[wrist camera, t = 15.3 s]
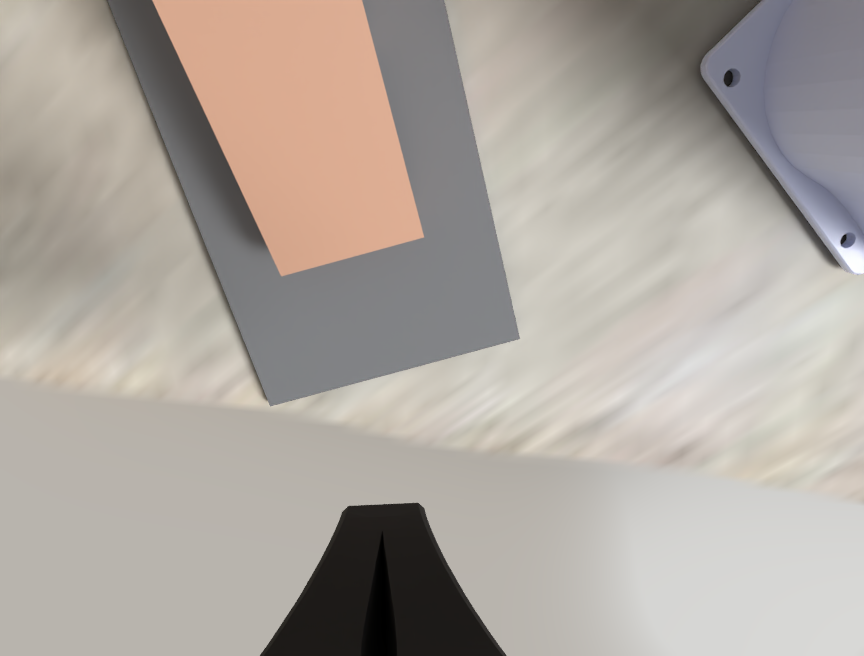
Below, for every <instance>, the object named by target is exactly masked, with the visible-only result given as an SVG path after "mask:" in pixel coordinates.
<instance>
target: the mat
mask: <svg viewBox="0 0 864 656" xmlns="http://www.w3.org/2000/svg"><path fill="white" fill-rule="evenodd" d="M107 1H108V4H109V6H110V9H111V11H112V14H113V16H114V19H115V21H116V24H117V26H118V29H119V31H120V34H121V36H122V39H123V41H124V43H125V46H126V48H127V51H128V53H129V56H130V58H131V61H132V63H133V66H134V68H135V71H136V73H137V76H138V78H139V81H140V83H141V86H142V88H143V91H144V93H145V96H146V98H147V101H148V103H149V106H150V108H151V111H152V113H153V116H154V118H155V121H156V123H157V126H158V128H159V131H160V133H161V136H162V138H163V141H164V143H165V146H166V148H167V151H168V153H169V156H170V158H171V161H172V163H173V166H174V168H175V170H176V173H177V175H178V178H179V180H180V183H181V185H182V188H183V190H184V193H185V195H186V198H187V200H188V203H189V205H190V208H191V210H192V213H193V215H194V218H195V220H196V223H197V225H198V228H199V230H200V233H201V235H202V238H203V240H204V243H205V245H206V248H207V250H208V253H209V255H210V258H211V260H212V263H213V265H214V268H215V270H216V273H217V275H218V278H219V280H220V283H221V285H222V288H223V290H224V293H225V295H226V297H227V300H228V302H229V305H230V307H231V310H232V312H233V315H234V317H235V320H236V322H237V325H238V327H239V330H240V332H241V335H242V337H243V340H244V342H245V345H246V347H247V350H248V352H249V355H250V357H251V360H252V362H253V365H254V367H255V370H256V372H257V375H258V377H259V380H260V382H261V385H262V387H263V390H264V392H265V395H266V397H267V400H268V402H269V405H270V406H273V405H277V404H281V403H284V402H288V401H292V400H295V399H299V398H303V397H307V396H310V395H314V394H318V393H321V392H325V391H329V390H332V389H336V388H340V387H344V386H347V385H351V384H355V383H358V382H362V381H366V380H369V379H373V378H377V377H381V376H384V375H388V374H392V373H395V372H399V371H403V370H407V369H410V368H414V367H418V366H421V365H425V364H429V363H432V362H436V361H440V360H444V359H447V358H451V357H455V356H458V355H462V354H466V353H469V352H473V351H477V350H481V349H484V348H488V347H492V346H495V345H499V344H503V343H506V342H510V341H514V340H518V339H520V337H519V333H518V328H517V324H516V320H515V315H514V311H513V306H512V302H511V297H510V293H509V288H508V284H507V279H506V275H505V270H504V266H503V261H502V257H501V252H500V248H499V243H498V239H497V235H496V230H495V226H494V221H493V217H492V212H491V208H490V203H489V199H488V194H487V190H486V185H485V181H484V176H483V172H482V167H481V163H480V158H479V154H478V150H477V145H476V141H475V136H474V132H473V127H472V123H471V118H470V114H469V109H468V105H467V100H466V96H465V91H464V87H463V82H462V78H461V74H460V69H459V65H458V60H457V56H456V51H455V47H454V42H453V38H452V33H451V29H450V24H449V20H448V15H447V11H446V6H445V2H444V0H362V2H363V6H364V9H365V13H366V17H367V21H368V25H369V29H370V32H371V36H372V40H373V44H374V48H375V51H376V55H377V59H378V63H379V67H380V71H381V74H382V78H383V82H384V86H385V90H386V93H387V97H388V101H389V105H390V109H391V112H392V116H393V120H394V124H395V128H396V132H397V135H398V139H399V143H400V147H401V151H402V154H403V158H404V162H405V166H406V170H407V173H408V177H409V181H410V185H411V189H412V193H413V196H414V200H415V204H416V208H417V212H418V215H419V219H420V223H421V227H422V231H423V234H424V238H420V239H416V240H413V241H409V242H405V243H402V244H398V245H394V246H391V247H387V248H383V249H380V250H376V251H372V252H369V253H365V254H362V255H358V256H354V257H351V258H347V259H343V260H340V261H336V262H332V263H329V264H325V265H321V266H318V267H314V268H310V269H307V270H303V271H299V272H296V273H292V274H288V275H285V276H281V275H280V273H279V271H278V268H277V266H276V264H275V262H274V260H273V258H272V256H271V253H270V251H269V249H268V247H267V245H266V243H265V241H264V238H263V236H262V234H261V232H260V230H259V228H258V226H257V223H256V221H255V219H254V217H253V215H252V213H251V211H250V208H249V206H248V204H247V202H246V200H245V198H244V196H243V193H242V191H241V189H240V187H239V185H238V183H237V181H236V178H235V176H234V174H233V172H232V170H231V168H230V166H229V163H228V161H227V159H226V157H225V155H224V153H223V151H222V149H221V146H220V144H219V142H218V140H217V138H216V136H215V134H214V131H213V129H212V127H211V125H210V123H209V121H208V119H207V116H206V114H205V112H204V110H203V108H202V106H201V104H200V101H199V99H198V97H197V95H196V93H195V91H194V89H193V86H192V84H191V82H190V80H189V78H188V76H187V74H186V71H185V69H184V67H183V65H182V63H181V61H180V59H179V56H178V54H177V52H176V50H175V48H174V46H173V44H172V41H171V39H170V37H169V35H168V33H167V31H166V29H165V26H164V24H163V22H162V20H161V18H160V16H159V14H158V12H157V9H156V7H155V5H154V3H153V1H152V0H107Z"/></svg>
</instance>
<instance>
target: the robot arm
mask: <svg viewBox="0 0 864 656" xmlns="http://www.w3.org/2000/svg"><path fill="white" fill-rule="evenodd" d="M728 70H729V71H731V72H732V74H733V81H732V83H731V84H730V86H728V87H727V86H726V85H725V84H724V81H723V79H724V75H725V73H726V72H727V71H728ZM701 74H702V77H703V79H704V80H705V81H706V83H707V84H708V86H709V87H710V88H711V90H712V91H713V92H714V94H715V95H716V97H717V98H718V99H719V101H720V102H721V103H722V105H723V106H724V107H725V109H726V110H727V112H728V113H729V114H730V116H731V117H732V118H733V120H734V121H735V122H736V124H737V125H738V127H739V128H740V129H741V131H742V132H743V133H744V135H745V136H746V137H747V139H748V140H749V142H750V143H751V144H752V146H753V147H754V148H755V150H756V151H757V152H758V154H759V155H760V157H761V158H762V159H763V161H764V162H765V163H766V165H767V166H768V167H769V169H770V170H771V172H772V173H773V174H774V176H775V177H776V178H777V180H778V181H779V182H780V184H781V185H782V187H783V188H784V189H785V191H786V192H787V193H788V195H789V196H790V198H791V199H792V200H793V202H794V203H795V204H796V206H797V207H798V208H799V210H800V211H801V213H802V214H803V215H804V217H805V218H806V219H807V221H808V222H809V223H810V225H811V226H812V228H813V229H814V230H815V232H816V233H817V234H818V236H819V237H820V238H821V240H822V241H823V243H824V244H825V245H826V247H827V248H828V249H829V251H830V252H831V253H832V255H833V256H834V258H835V259H836V260H837V262H838V263H839V264H840V266H841V267H842V268H843V269H844V270H845V271H846V272H849V273H852V274H856V275H859V274H864V0H762V1H761V2H760V3H759V4H757V5H756V6H755V7H754V8H753V9H752V10H751V11H750V12H749V13H748V14H747V15H746V16H745V17H744V18H743V19H742V20H741V21H740V22H739V23H738V24H737V25H736V26H735V27H734V28H733V29H732V30H731V31H729V32H728V33H727V34H726V35H725V36H724V37H723V38H722V39H721V40H720V41H719V42H718V43H717V44H716V45H715V46H714V47H713V48H712V49H711V50H710V51H709V52H708V53H707V54H706V55H705V57H704V58H703V60H702V63H701ZM844 234H846V235H847V238H846V241H845V242H844V243H843V244H842V245H841V244H840V241H841V238H842V236H843V235H844ZM260 656H506V654H505V653H504V652H503V650H502V649H501V648H500V646H499V645H498V643H497V642H496V641H495V639H494V638H493V636H492V635H491V634H490V632H489V631H488V629H487V628H486V626H485V625H484V623H483V622H482V620H481V619H480V617H479V616H478V614H477V613H476V612H475V610H474V608H473V607H472V605H471V603H470V602H469V600H468V599H467V597H466V596H465V594H464V592H463V590H462V589H461V587H460V585H459V583H458V582H457V580H456V578H455V576H454V575H453V573H452V571H451V569H450V568H449V566H448V564H447V562H446V560H445V558H444V556H443V554H442V552H441V550H440V548H439V546H438V544H437V542H436V540H435V537H434V535H433V533H432V531H431V528H430V525H429V523H428V520H427V517H426V514H425V510H424V508H423V507H422V506H421V505H420V504H419V503H404V504H383V505H361V506H348V507H347V508H346V509H345V510H344V511H343V512H342V515H341V517H340V520H339V523H338V525H337V527H336V530H335V532H334V534H333V536H332V538H331V540H330V543H329V545H328V546H327V548H326V551H325V552H324V554H323V556H322V558H321V560H320V562H319V564H318V565H317V567H316V569H315V571H314V572H313V574H312V576H311V578H310V579H309V581H308V583H307V585H306V586H305V588H304V590H303V592H302V593H301V595H300V597H299V598H298V600H297V602H296V603H295V605H294V606H293V608H292V609H291V611H290V612H289V614H288V615H287V617H286V618H285V620H284V622H283V623H282V624H281V626H280V627H279V629H278V630H277V632H276V633H275V635H274V636H273V638H272V639H271V641H270V642H269V644H268V645H267V647H266V648H265V649H264V651H263V652H262V653H261V655H260Z"/></svg>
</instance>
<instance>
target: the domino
mask: <svg viewBox="0 0 864 656" xmlns="http://www.w3.org/2000/svg"><path fill="white" fill-rule="evenodd" d="M152 1H153V3H154V5H155V7H156V9H157V12H158V14H159V16H160V18H161V20H162V22H163V24H164V26H165V29H166V31H167V33H168V35H169V37H170V39H171V41H172V44H173V46H174V48H175V50H176V52H177V54H178V56H179V59H180V61H181V63H182V65H183V67H184V69H185V71H186V74H187V76H188V78H189V80H190V82H191V84H192V86H193V89H194V91H195V93H196V95H197V97H198V99H199V101H200V104H201V106H202V108H203V110H204V112H205V114H206V116H207V119H208V121H209V123H210V125H211V127H212V129H213V131H214V134H215V136H216V138H217V140H218V142H219V144H220V146H221V149H222V151H223V153H224V155H225V157H226V159H227V161H228V163H229V166H230V168H231V170H232V172H233V174H234V176H235V178H236V181H237V183H238V185H239V187H240V189H241V191H242V193H243V196H244V198H245V200H246V202H247V204H248V206H249V208H250V211H251V213H252V215H253V217H254V219H255V221H256V223H257V226H258V228H259V230H260V232H261V234H262V236H263V238H264V241H265V243H266V245H267V247H268V249H269V251H270V253H271V256H272V258H273V260H274V262H275V264H276V266H277V268H278V271H279V273H280V275H281V276H285V275H288V274H292V273H296V272H299V271H303V270H307V269H310V268H314V267H318V266H321V265H325V264H329V263H332V262H336V261H340V260H343V259H347V258H351V257H354V256H358V255H362V254H365V253H369V252H372V251H376V250H380V249H383V248H387V247H391V246H394V245H398V244H402V243H405V242H409V241H413V240H416V239H420V238H424V234H423V231H422V227H421V223H420V219H419V215H418V212H417V208H416V204H415V200H414V196H413V193H412V189H411V185H410V181H409V177H408V173H407V170H406V166H405V162H404V158H403V154H402V151H401V147H400V143H399V139H398V135H397V132H396V128H395V124H394V120H393V116H392V112H391V109H390V105H389V101H388V97H387V93H386V90H385V86H384V82H383V78H382V74H381V71H380V67H379V63H378V59H377V55H376V51H375V48H374V44H373V40H372V36H371V32H370V29H369V25H368V21H367V17H366V13H365V9H364V6H363V2H362V0H152Z"/></svg>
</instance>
